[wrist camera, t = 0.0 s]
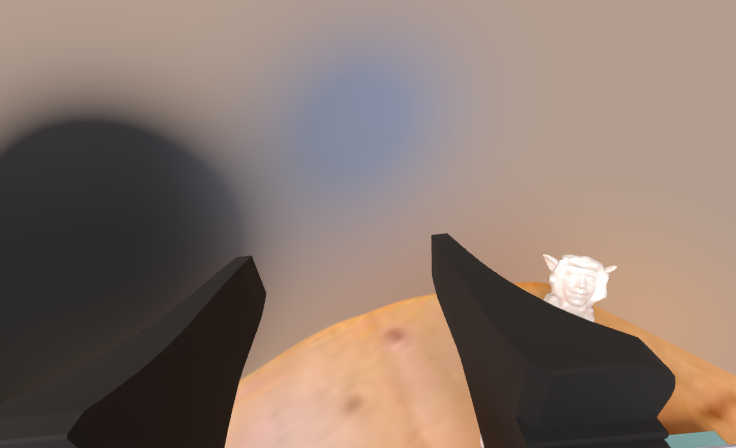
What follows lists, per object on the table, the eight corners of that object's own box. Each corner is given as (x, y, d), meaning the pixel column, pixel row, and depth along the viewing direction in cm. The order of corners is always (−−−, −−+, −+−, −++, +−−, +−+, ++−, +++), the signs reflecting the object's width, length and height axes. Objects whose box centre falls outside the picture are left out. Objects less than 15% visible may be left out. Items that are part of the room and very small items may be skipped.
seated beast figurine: (509, 382, 30) (521, 283, 24) (505, 320, 37) (514, 233, 32) (628, 407, 26) (672, 299, 21) (599, 333, 33) (626, 239, 28)
